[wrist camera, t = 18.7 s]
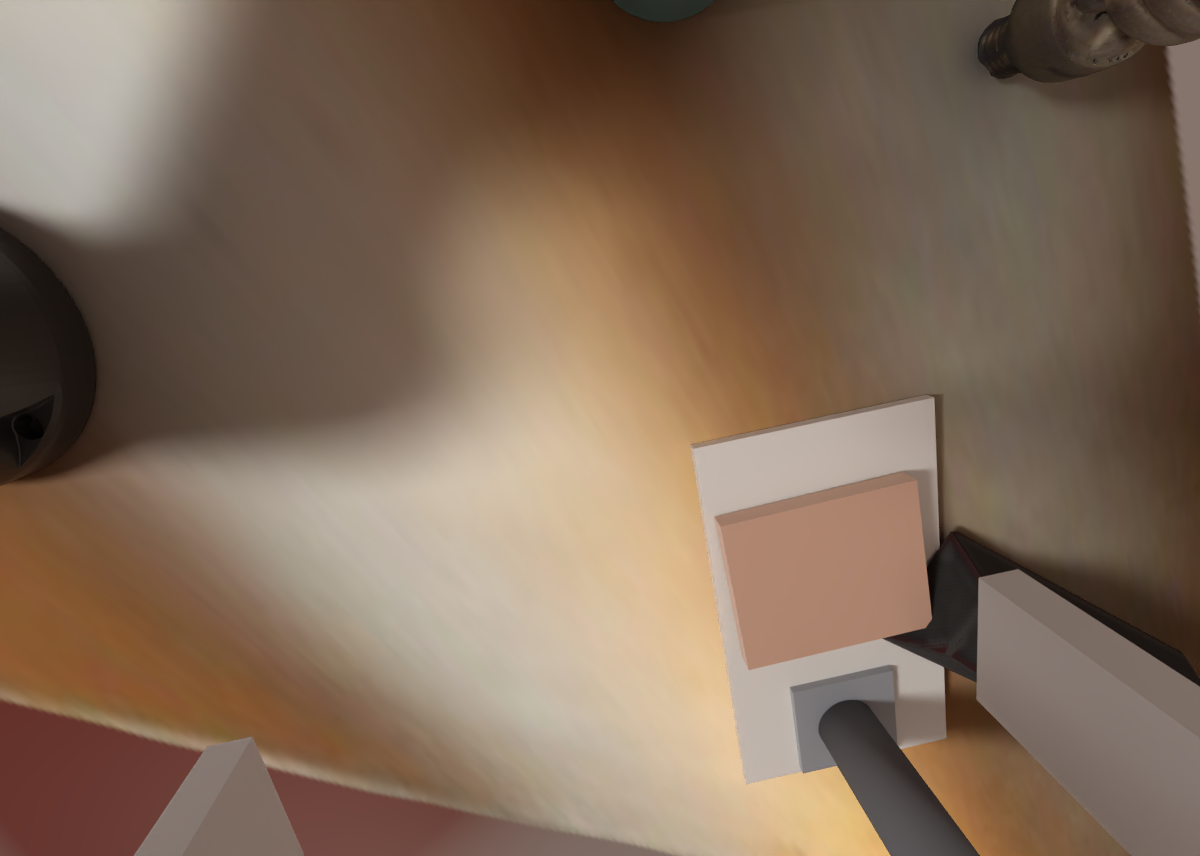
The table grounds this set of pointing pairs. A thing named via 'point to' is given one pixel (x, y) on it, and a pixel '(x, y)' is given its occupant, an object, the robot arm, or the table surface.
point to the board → (859, 672)
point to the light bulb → (1082, 35)
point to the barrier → (957, 611)
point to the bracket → (663, 8)
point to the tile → (826, 569)
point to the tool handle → (889, 785)
